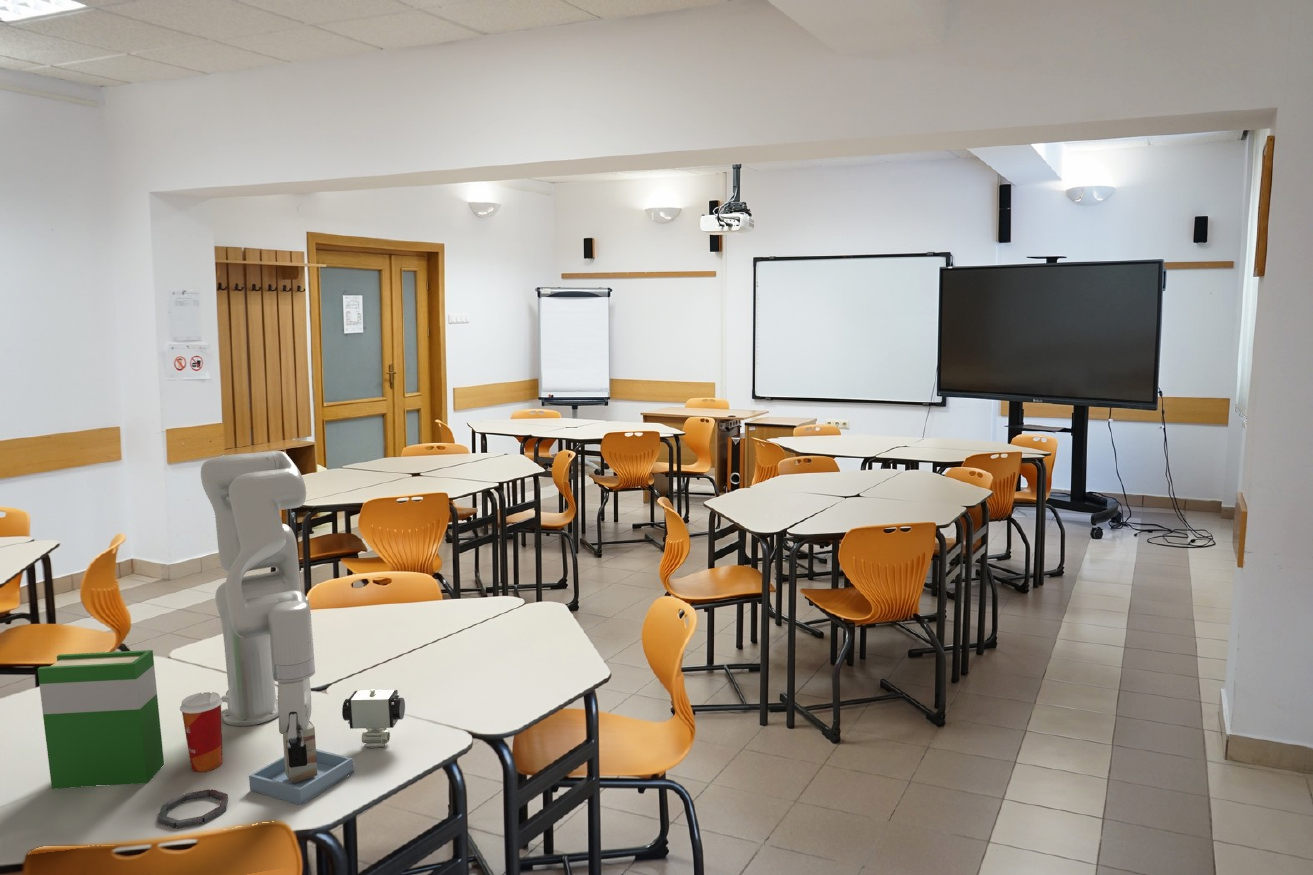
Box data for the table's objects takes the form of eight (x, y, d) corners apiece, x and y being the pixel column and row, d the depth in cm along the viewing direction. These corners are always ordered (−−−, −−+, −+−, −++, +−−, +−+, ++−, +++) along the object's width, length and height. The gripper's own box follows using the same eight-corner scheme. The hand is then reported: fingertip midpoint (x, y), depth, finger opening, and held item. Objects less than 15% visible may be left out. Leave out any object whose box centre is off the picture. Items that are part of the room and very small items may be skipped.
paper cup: (194, 757, 192) (188, 691, 190) (233, 755, 192) (227, 689, 191) (178, 776, 184) (172, 707, 182) (219, 773, 185) (213, 705, 183)
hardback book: (51, 788, 180) (37, 668, 177) (72, 770, 188) (59, 654, 184) (147, 783, 182) (134, 664, 178) (164, 764, 189) (152, 650, 186)
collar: (146, 819, 169) (145, 813, 168) (199, 790, 178) (199, 785, 178) (187, 832, 164) (187, 827, 164) (240, 802, 173) (240, 797, 173)
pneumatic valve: (401, 749, 193) (397, 693, 191) (344, 750, 193) (340, 694, 192) (408, 737, 199) (405, 682, 197) (353, 738, 199) (349, 684, 197)
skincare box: (291, 784, 178) (287, 734, 176) (284, 775, 181) (280, 726, 179) (319, 775, 181) (315, 726, 179) (312, 766, 184) (308, 718, 182)
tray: (250, 790, 178) (248, 775, 177) (304, 759, 190) (303, 745, 189) (301, 805, 172) (300, 789, 172) (353, 772, 184) (352, 758, 183)
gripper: (279, 653, 185) (286, 740, 188) (264, 687, 169) (272, 782, 171) (319, 649, 187) (325, 735, 189) (309, 682, 170) (316, 776, 173)
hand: (300, 756), depth 180 cm, fingers open, 6 cm apart
